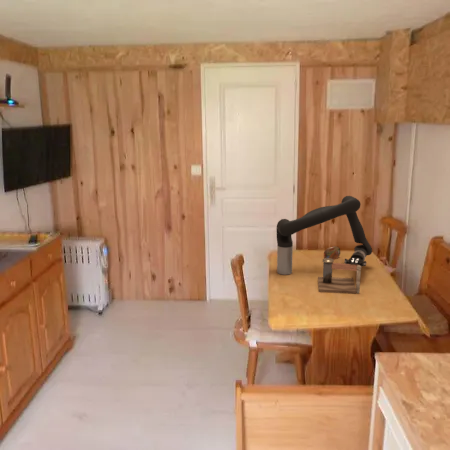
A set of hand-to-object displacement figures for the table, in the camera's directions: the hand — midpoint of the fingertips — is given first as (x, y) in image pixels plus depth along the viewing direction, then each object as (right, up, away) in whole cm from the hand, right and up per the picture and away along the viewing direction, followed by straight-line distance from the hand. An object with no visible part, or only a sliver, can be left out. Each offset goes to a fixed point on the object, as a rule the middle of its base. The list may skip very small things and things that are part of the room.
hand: (352, 266), depth 259 cm
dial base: (-7, -11, +3) cm, 14 cm away
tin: (0, 0, +50) cm, 50 cm away
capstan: (-6, -9, +3) cm, 12 cm away
